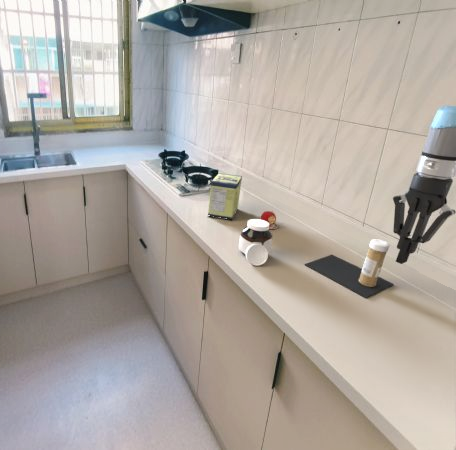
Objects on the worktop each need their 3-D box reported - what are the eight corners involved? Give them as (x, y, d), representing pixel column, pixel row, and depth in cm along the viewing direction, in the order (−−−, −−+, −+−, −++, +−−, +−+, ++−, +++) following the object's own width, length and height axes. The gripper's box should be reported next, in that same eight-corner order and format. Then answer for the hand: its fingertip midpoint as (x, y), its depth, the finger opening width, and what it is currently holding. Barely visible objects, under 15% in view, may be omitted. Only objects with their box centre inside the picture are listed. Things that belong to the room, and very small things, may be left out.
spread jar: (257, 247, 119) (262, 216, 114) (280, 262, 109) (287, 229, 105) (229, 253, 114) (233, 221, 109) (251, 269, 105) (257, 235, 100)
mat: (393, 285, 99) (394, 283, 99) (366, 298, 92) (366, 297, 92) (331, 255, 115) (332, 254, 115) (304, 265, 108) (304, 263, 108)
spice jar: (379, 287, 97) (394, 246, 91) (363, 287, 97) (377, 245, 91) (369, 278, 101) (383, 238, 96) (354, 278, 101) (367, 238, 95)
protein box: (237, 209, 153) (242, 175, 147) (232, 221, 140) (236, 185, 133) (215, 205, 156) (218, 172, 150) (207, 216, 143) (210, 181, 137)
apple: (280, 226, 137) (283, 211, 134) (272, 231, 131) (275, 216, 128) (262, 220, 141) (264, 205, 139) (253, 225, 136) (255, 210, 133)
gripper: (396, 170, 83) (368, 254, 93) (460, 184, 73) (421, 277, 83) (411, 167, 87) (383, 248, 96) (474, 180, 77) (436, 269, 86)
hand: (401, 261), depth 90 cm, fingers closed
